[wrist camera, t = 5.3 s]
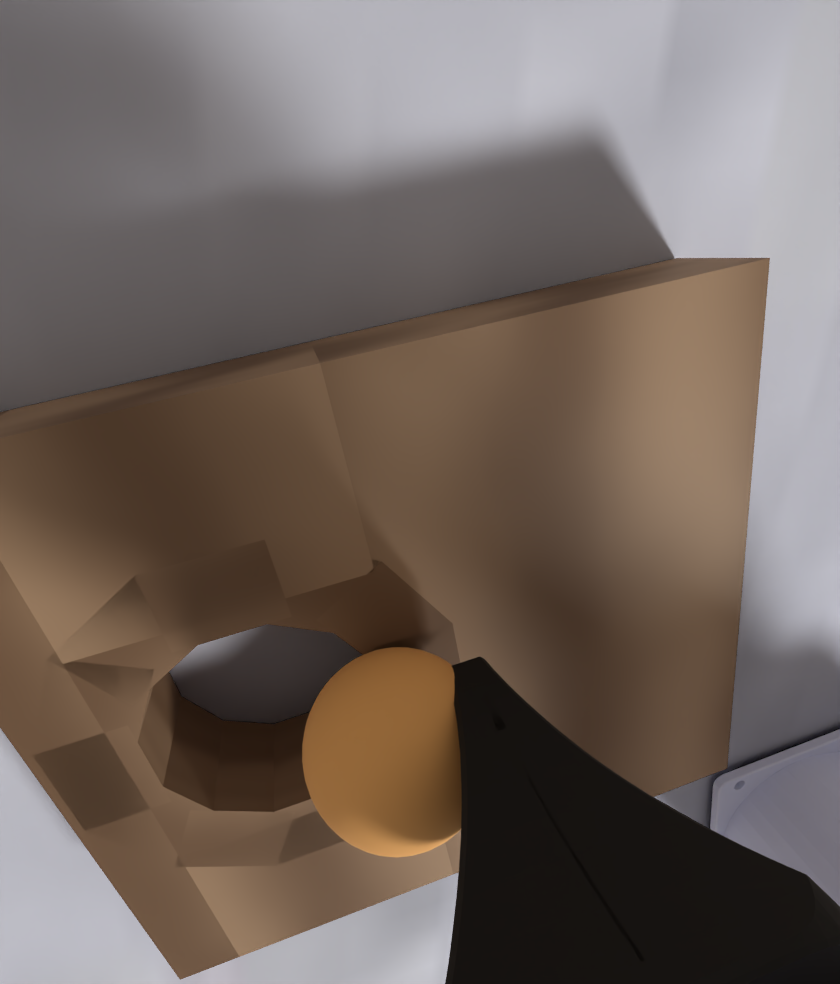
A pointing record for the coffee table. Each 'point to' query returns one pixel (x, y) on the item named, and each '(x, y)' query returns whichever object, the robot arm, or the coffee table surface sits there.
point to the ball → (387, 753)
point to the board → (378, 570)
